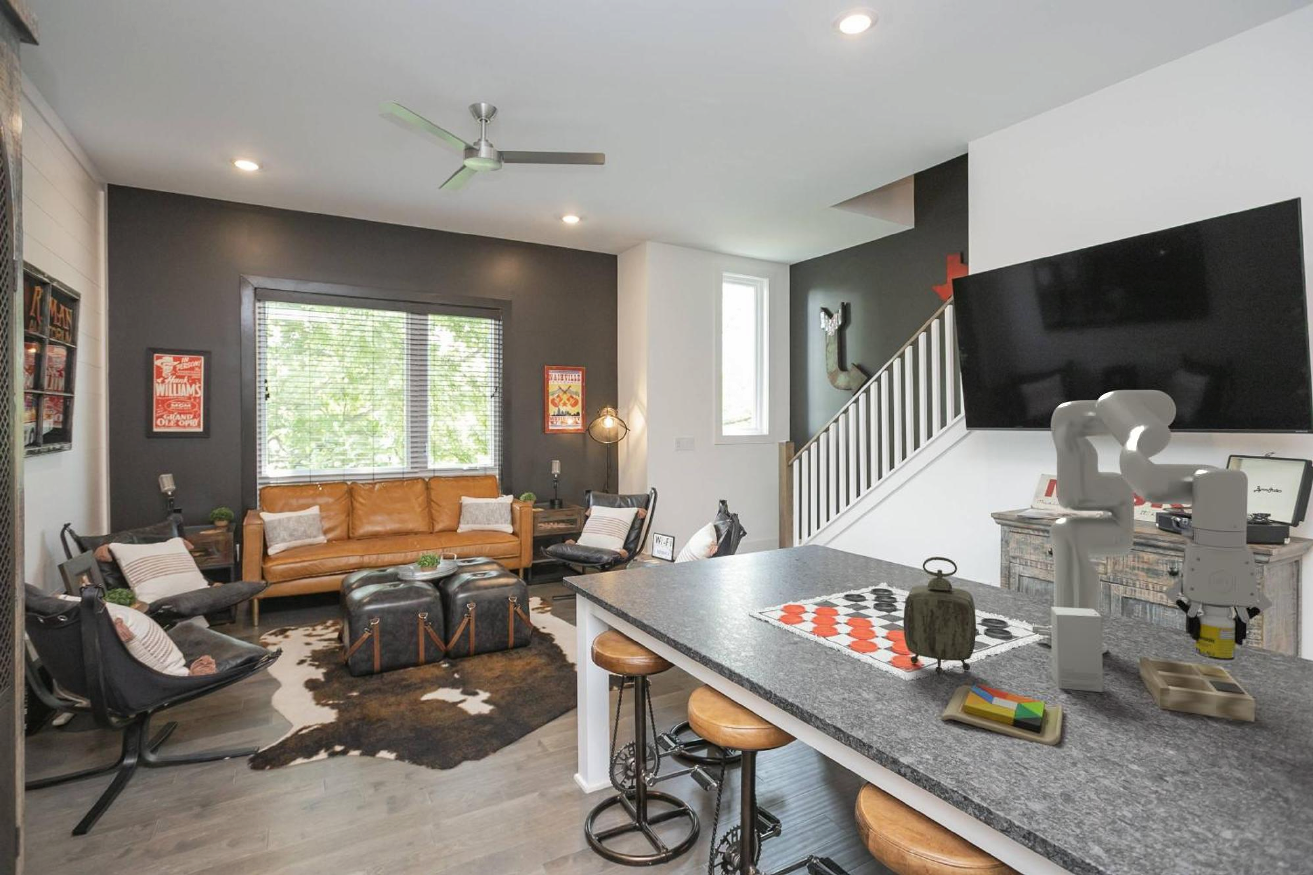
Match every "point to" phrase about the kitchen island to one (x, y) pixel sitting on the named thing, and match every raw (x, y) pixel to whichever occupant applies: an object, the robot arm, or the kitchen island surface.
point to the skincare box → (1077, 649)
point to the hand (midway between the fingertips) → (1215, 639)
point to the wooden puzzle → (1005, 713)
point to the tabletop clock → (940, 620)
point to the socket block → (1196, 689)
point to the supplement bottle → (1216, 634)
